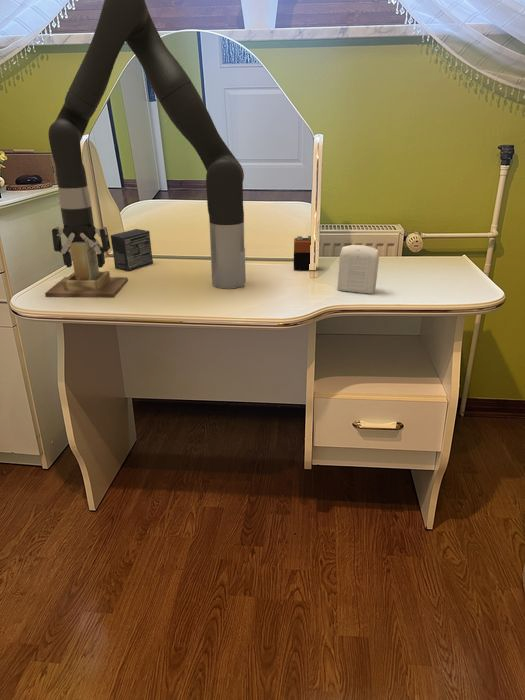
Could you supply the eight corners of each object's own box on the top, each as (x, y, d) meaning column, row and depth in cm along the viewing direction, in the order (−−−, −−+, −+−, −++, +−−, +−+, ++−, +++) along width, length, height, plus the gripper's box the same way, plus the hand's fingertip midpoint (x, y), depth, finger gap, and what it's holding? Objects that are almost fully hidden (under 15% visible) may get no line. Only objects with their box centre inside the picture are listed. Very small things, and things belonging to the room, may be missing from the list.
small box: (139, 260, 167) (136, 227, 162) (154, 263, 163) (150, 230, 159) (113, 268, 159) (109, 234, 154) (128, 271, 156) (123, 237, 151)
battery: (316, 271, 156) (317, 238, 152) (293, 271, 156) (294, 238, 152) (315, 267, 160) (316, 234, 156) (293, 266, 160) (294, 234, 156)
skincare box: (86, 281, 144) (79, 237, 139) (101, 281, 144) (94, 237, 138) (76, 288, 138) (68, 243, 133) (91, 288, 138) (84, 243, 133)
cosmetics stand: (127, 280, 148) (126, 268, 146) (113, 297, 135) (112, 284, 133) (65, 280, 148) (63, 268, 146) (45, 296, 135) (43, 284, 134)
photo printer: (376, 290, 140) (380, 245, 135) (374, 295, 136) (379, 249, 131) (338, 286, 143) (341, 242, 138) (335, 291, 139) (338, 245, 134)
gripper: (107, 202, 135) (115, 263, 142) (53, 202, 135) (64, 262, 142) (98, 207, 128) (107, 271, 135) (42, 207, 129) (53, 270, 136)
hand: (85, 266), depth 139 cm, fingers open, 8 cm apart
